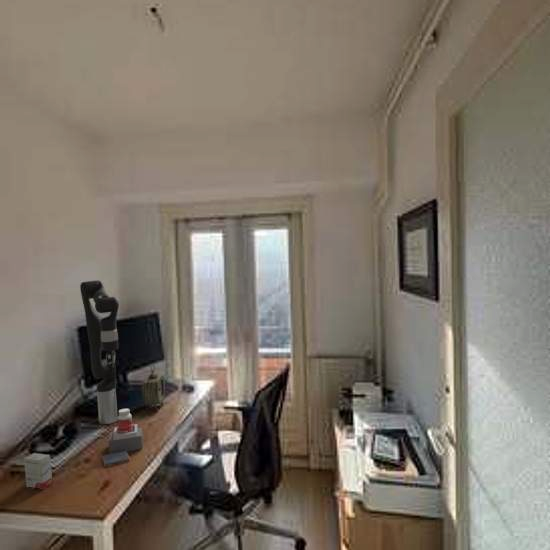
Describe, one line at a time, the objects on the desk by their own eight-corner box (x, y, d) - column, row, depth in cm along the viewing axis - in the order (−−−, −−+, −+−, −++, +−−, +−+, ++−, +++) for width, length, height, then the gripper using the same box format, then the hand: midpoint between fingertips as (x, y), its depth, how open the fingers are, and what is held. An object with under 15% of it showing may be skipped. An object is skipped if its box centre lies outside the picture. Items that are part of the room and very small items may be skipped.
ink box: (53, 483, 170) (51, 454, 169) (43, 490, 165) (40, 460, 165) (36, 481, 173) (34, 452, 172) (25, 487, 168) (23, 457, 167)
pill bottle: (132, 435, 197) (130, 411, 196) (117, 437, 196) (116, 413, 195) (133, 430, 203) (131, 407, 202) (119, 432, 202) (117, 408, 201)
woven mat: (105, 469, 180) (104, 464, 180) (101, 459, 189) (101, 454, 189) (131, 462, 185) (130, 457, 185) (126, 453, 194) (126, 448, 194)
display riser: (111, 444, 202) (110, 428, 202) (142, 439, 206) (141, 423, 206) (109, 454, 193) (108, 436, 192) (142, 448, 197) (141, 431, 196)
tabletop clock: (159, 412, 241) (156, 368, 239) (142, 413, 241) (139, 368, 240) (166, 403, 255) (163, 361, 254) (150, 404, 255) (147, 362, 254)
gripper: (116, 341, 200) (119, 376, 201) (119, 335, 214) (121, 368, 215) (99, 343, 198) (102, 378, 199) (102, 337, 212) (105, 370, 213)
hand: (112, 373), depth 207 cm, fingers open, 8 cm apart
